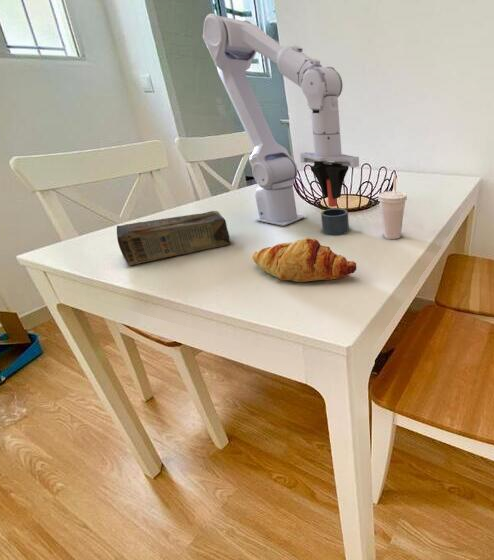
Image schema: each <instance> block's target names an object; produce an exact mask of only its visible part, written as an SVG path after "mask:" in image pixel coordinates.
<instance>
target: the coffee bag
mask: <svg viewBox="0 0 494 560" xmlns="http://www.w3.org/2000/svg"><path fill="white" fill-rule="evenodd" d="M116 239H117V243H118V247H119V249H120V252H121V254H122V257H123V259H124V261H125V263H126V264H127V266H131V265H139V264H143V263H148V262H151V261H157V260H162V259H166V258H171V257H177V256H182V255H186V254H191V253H195V252H200V251H204V250H210V249H215V248H218V247H224V246H230V245H231V239H230V233H229V230H228V226H227V221H226V219H225V218H224V216H222V214H221V213H220V212H219V211H217V210H210V211H207V212H202V213H194V214H186V215H180V216H174V217H166V218H160V219H152V220H147V221H138V222H133V223H126V224H122V225H117V226H116Z"/></svg>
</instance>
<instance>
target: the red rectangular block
mask: <svg viewBox="0 0 494 560" xmlns="http://www.w3.org/2000/svg"><path fill="white" fill-rule="evenodd" d="M326 183H327V193H328V197H327V202H328V207H332V208H334V207H337V206H338V198H336V199H333V197H332V191H331V183H330V179H326Z"/></svg>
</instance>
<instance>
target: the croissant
mask: <svg viewBox="0 0 494 560" xmlns="http://www.w3.org/2000/svg"><path fill="white" fill-rule="evenodd" d="M252 261H253V262H254V263H255V264H256V265H257V266H258V267H259V268H260V270H262V271H263V272H265V273H267V274H268V275H270V276H273V277H275V278H277V279H279V280H280V281H291V282H297V283H308V282H316V281H331V280H337V279H338V280H339V279H343V278H345V277H347V276H349V275H351V274H354V273H355V272H356V270H357V263H356V262H355V261H353V260H351V261H350V260H347V258H346V257H345V256H344V255H341V254H337V253H335V252H333V250H332V249H331V248H330V246H326V245H322V244H321V243H320V242H319V240H318V239H316V238H312V237H305V238H302V239H297V240H295V241H294V242H282V243H281V242H280V243H277V244H275V245H274V246H273V245H272V246H269V247H263V248H261V249H260V250H259V251H254V252H253V254H252Z"/></svg>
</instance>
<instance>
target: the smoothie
mask: <svg viewBox="0 0 494 560" xmlns="http://www.w3.org/2000/svg"><path fill="white" fill-rule="evenodd" d="M407 196H408V195H407V193H406V192H403V191H398V190H397V174H395V173H393V190H388V191H382V192H380V193H379V194H378V195H377V200H378V201H379V206H380V214H381V221H382V227H383V235H384V238H385V239H388V240H396V239H399V238H401V236H402V227H403V220H404V212H405V206H406V201H407V200H408V197H407Z"/></svg>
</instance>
